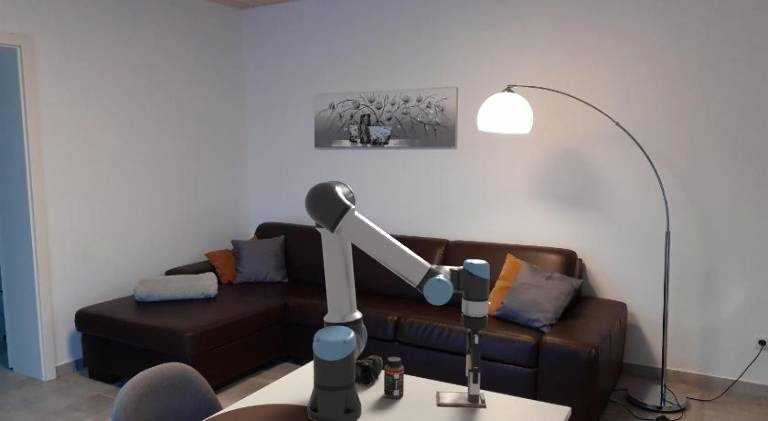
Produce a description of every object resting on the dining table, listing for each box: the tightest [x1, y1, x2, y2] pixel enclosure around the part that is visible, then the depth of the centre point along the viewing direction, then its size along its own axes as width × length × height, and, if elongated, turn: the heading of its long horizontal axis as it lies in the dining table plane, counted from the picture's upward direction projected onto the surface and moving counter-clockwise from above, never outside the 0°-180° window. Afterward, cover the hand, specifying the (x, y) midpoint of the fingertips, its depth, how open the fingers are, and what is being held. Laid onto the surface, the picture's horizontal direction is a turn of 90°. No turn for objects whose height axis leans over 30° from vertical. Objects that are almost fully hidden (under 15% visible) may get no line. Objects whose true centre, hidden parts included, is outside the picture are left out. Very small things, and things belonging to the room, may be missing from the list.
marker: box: [467, 356, 479, 404], centre depth 168 cm, size 4×4×13 cm
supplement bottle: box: [383, 356, 405, 399], centre depth 174 cm, size 6×6×11 cm
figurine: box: [355, 355, 384, 386], centre depth 187 cm, size 9×8×15 cm
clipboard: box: [436, 391, 487, 408], centre depth 171 cm, size 14×9×2 cm, turn 86°
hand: (472, 384), depth 168 cm, fingers open, 13 cm apart
